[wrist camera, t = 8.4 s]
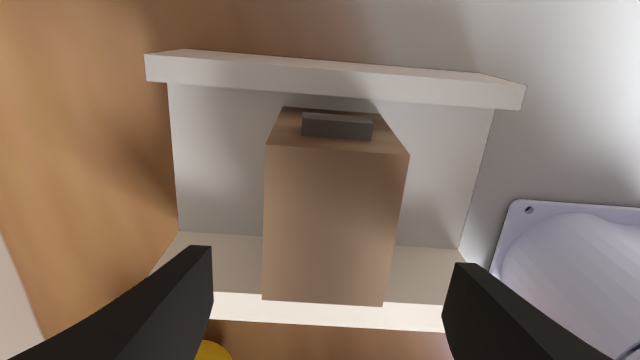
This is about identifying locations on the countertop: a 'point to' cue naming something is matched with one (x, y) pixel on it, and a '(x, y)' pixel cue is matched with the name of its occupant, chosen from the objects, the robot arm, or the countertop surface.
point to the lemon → (212, 352)
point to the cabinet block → (330, 206)
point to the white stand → (249, 159)
